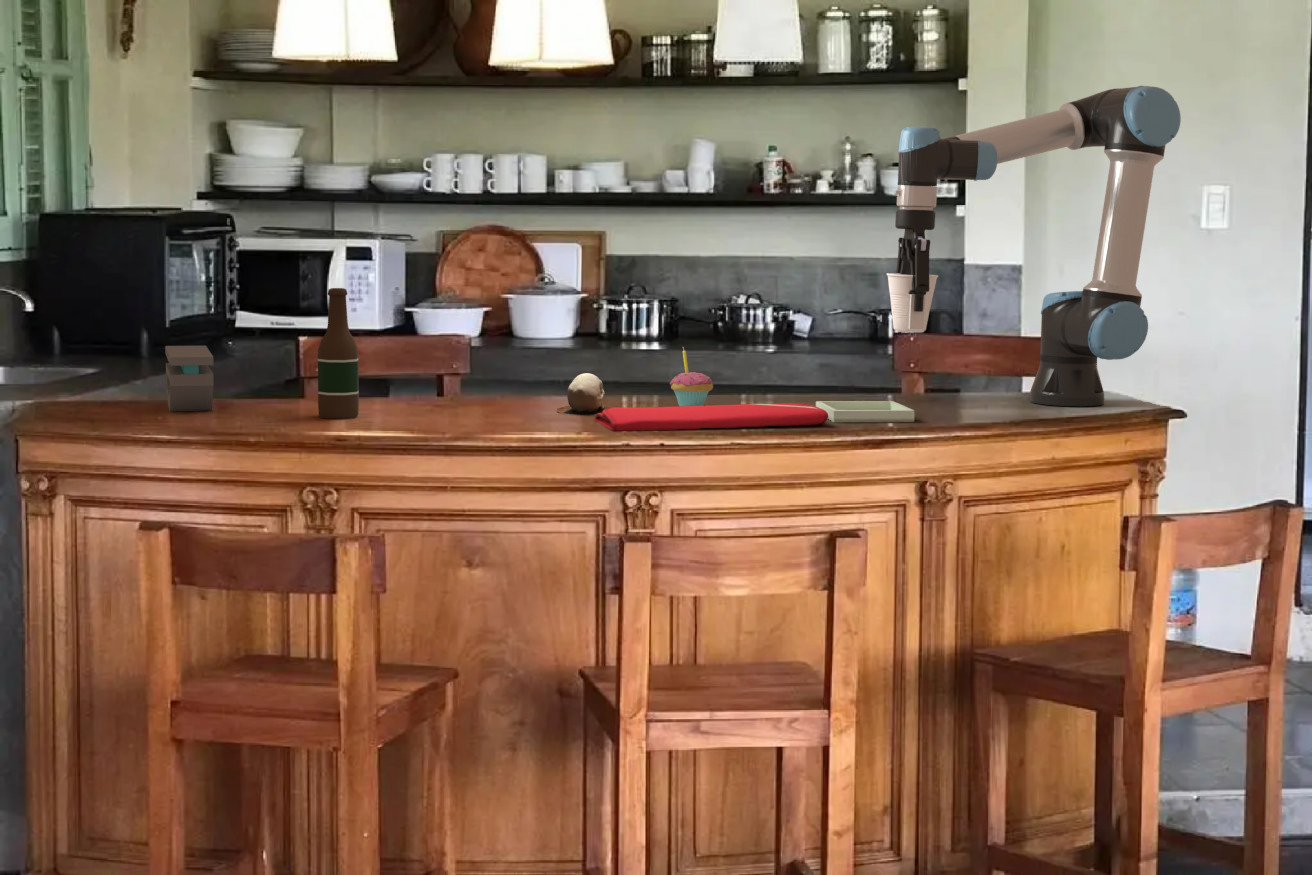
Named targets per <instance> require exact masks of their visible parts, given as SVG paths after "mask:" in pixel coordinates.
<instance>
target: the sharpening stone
mask: <svg viewBox="0 0 1312 875" xmlns="http://www.w3.org/2000/svg"><path fill="white" fill-rule="evenodd" d="M164 348H165V349H164V350H165V356H166V359H167V361H168V362H166V363H165V376H166V377H165V378H166V381H165V382H166V397H167V406H168V407H167V408H168V409H169V411H170V412H192V411H195V412H196V411H198V412H199V411H201V412H202V411H213V400H214V372H213V371H212V369H211V368H210V366H214V356H213V354H212V353H211V351H210V349H209V348H208V346H207V345H165V346H164Z"/></svg>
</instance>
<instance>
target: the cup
mask: <svg viewBox="0 0 1312 875" xmlns="http://www.w3.org/2000/svg"><path fill="white" fill-rule="evenodd" d="M886 276H887V280H888V281H887V282H888V289H889V290H888V291H889V297H890V298H889V299H890V307H891V308H890V309H891V315H892V327H893V330H894V331H895V332H900V333H924V332H925V331H926V330H927V327H928V326H927V325H928V321H929V315H930V311H931V306H932V301H933V298H934V297H933V296H934V293H935V289H936V284H937V279H938V278H939V275H937V274H930V273H929V292H926V295H925V308H924V327H923V329H909V311H910V294H909V291H910V290H912V278H913V275H900V273H896V272H887V273H886ZM914 295H915V294H914Z"/></svg>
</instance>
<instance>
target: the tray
mask: <svg viewBox="0 0 1312 875" xmlns="http://www.w3.org/2000/svg"><path fill="white" fill-rule="evenodd" d="M815 406H816V407H818V408H821V409H824V410H825V411H826V412H827V413H828V419H829V420H828V419H827V420H828V421H830V420H831V421H830V422H832V423H915V409H912V408H909V407H907V406H906V405H904V404H901V403H898V402H895V400H883V401H882V400H879V401H878V400H877V401H876V400H874V401H873V400H867V401H866V400H861V401H860V400H854V401H852V400H851V401H849V400H846V401H843V400H839V401H837V400H836V401H835V400H831V401H830V400H829V401H827V400H826V401H825V400H824V401H821V400H817V401H815Z"/></svg>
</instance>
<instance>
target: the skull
mask: <svg viewBox="0 0 1312 875" xmlns="http://www.w3.org/2000/svg"><path fill="white" fill-rule="evenodd" d="M603 386H604V385H603V381H602V380H601V379H600V378H599V377H598V376H596V375H595V374H592V373H588V372H587V373H585V372H584V373H581V374H579V375H577V376H576V377H575V378H574V379H573V380H572V381H571V383H569V386H568V388H567V394H566V395H567V401H568V405H566V406H562V407H559V408H557V409H556V412H557V413H558V414H563V415H583V416H585V415H586V416H595V415H596V414H598V413H602V411H603V410H605V409H610V408H618V407H615V406H611V405H604V404H603V398H604V395H605V391H604V387H603ZM602 414H603V413H602Z"/></svg>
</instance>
